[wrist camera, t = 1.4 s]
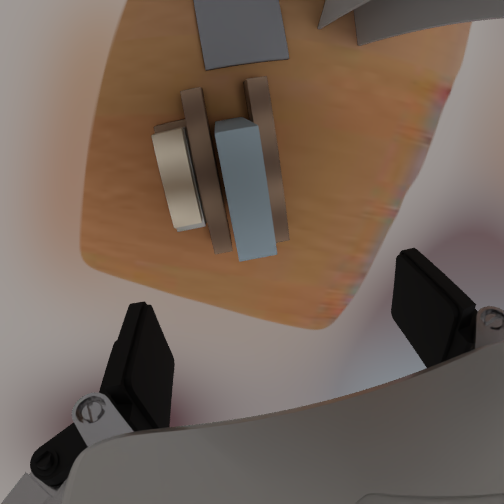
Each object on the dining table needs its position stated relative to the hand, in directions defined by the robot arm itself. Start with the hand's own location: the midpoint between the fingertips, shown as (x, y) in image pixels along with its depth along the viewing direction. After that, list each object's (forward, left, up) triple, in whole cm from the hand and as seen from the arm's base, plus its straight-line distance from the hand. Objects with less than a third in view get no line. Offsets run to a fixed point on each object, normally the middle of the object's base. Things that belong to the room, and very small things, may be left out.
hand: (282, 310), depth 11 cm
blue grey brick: (0, 0, -27) cm, 27 cm away
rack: (0, 0, -27) cm, 27 cm away
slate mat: (-19, +3, -27) cm, 33 cm away
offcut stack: (0, -6, -27) cm, 27 cm away
